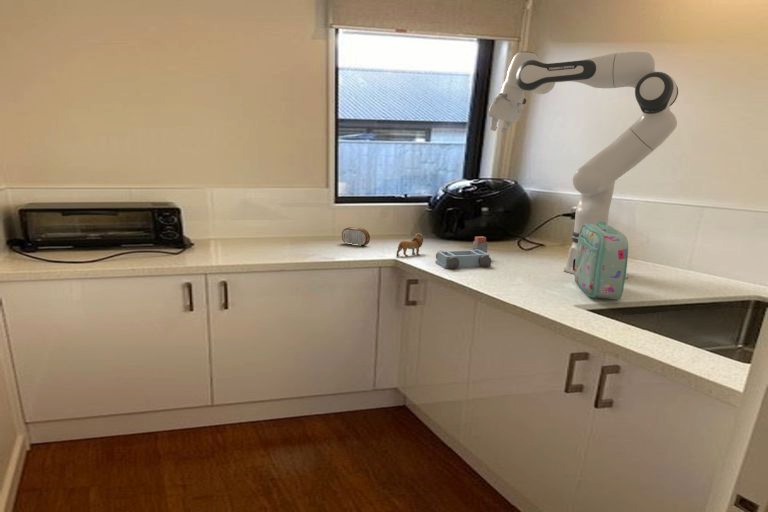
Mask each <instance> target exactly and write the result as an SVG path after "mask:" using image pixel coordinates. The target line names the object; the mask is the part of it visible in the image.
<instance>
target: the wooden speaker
mask: <svg viewBox="0 0 768 512" xmlns="http://www.w3.org/2000/svg"><path fill="white" fill-rule="evenodd" d="M341 239H342V242H343V243H345V242H347V243H352V244H358V245H365V246H367V245H369V242H370V240H371V236H370V233H369V231H368V230H367V229H365V228H361V227H353V226H348V227H346V228H343V230H342V232H341Z"/></svg>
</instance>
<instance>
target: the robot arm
mask: <svg viewBox="0 0 768 512" xmlns="http://www.w3.org/2000/svg"><path fill="white" fill-rule="evenodd" d="M655 66H656V64H655V59H654V57H653V55H652V54H651V53H649V52H647V51H624V52H623V51H622V52H616V53H608V54H604V55H600V56H599V55H598V56H595V57H590V58H586V59H580V60H573V61H561V62H553V63H546V62H545V63H544V62H542V61H541V60H540V59H539V58H538V56H537V54H536V53H534V52H531V51H530V52H529V51H525V50H524V51H519V52H517V53H516V54H514V56H513V58H512V60H511V62H510V65H509V66H508V70H507V72H506V77H505V78H506V79H505V81H504V82H503V84H502V86H501V89H500V92H499V93H498V94H497V95H496V97H494V99H493V100H492V102H491V105H490V107H489V110H488V113H487V116H488V117H490V118H491V126H490V130H491V131H493V132H496V131H497V129H498V122H499V121H501V120H502V121H505V123H504V124H505V125H504V126H503V127H502V128H501V132H502V133H505V134H507V133H508V130H509V129H510V127H511V126H512V124H513V123H514V124H517V123H518V122H519V120H520V118H521V116H522V113H523V111H524V107H525V106H526V105H527V103H528V99H527V97H526V96H525V93H526V91H528V92H532V93H534V94H537V95H545V94H548V93H549V92H551V91H553V89H554V87H555V85H556V83H566V82H567V83H568V82H573V83H574V82H575V83H579V84H584V85H587V86H589V87H592V88H595V89H617V88H618V89H619V88H627V87H628V88H634V96H635V100H636V101H637V105H638V106H639V108H640V110H641V112H642V114H641V116H640V117H639V118H638V119H637V120H636V121H635V122H634V123H633V124H632V125H630V126H629V127H628V128H627V129H626V130H625V131H624V132H623V133H622V134H620V135H619V136H618V137H617V138H616V139H614V141H612V143H610V144H609V145H607V147H604V148H603V149H602V150H601V151H599V152H598V153H596V155H594V156H593V157H592V158H590V159H589V160H587V161H586V162H585V163H584V164H583V165H581V166H580V167H579V168H578V169H576V171H575V173H574V174H573V177H572V184H573V187H574V189H575V190H576V191H578V192H579V193H580V194H579V195H580V196H579V198H578V204H577V207H576V209H575V214H574V215H575V217H574V227H573V231H572V234H571V241H572V244H571V246H570V248H569V250H568V254H567V255H568V256H567V261H566V266H565V267H564V268H563V272H566V273H569V274H573V275H574V271H573V260H574V259H575V258H576V251H577V244H578V238H579V234H580V230H581V228H582V226H583V225H584V224H597V222H598V221H599V222H606V226H609V225H608V224H609V223H608V222H609V215H610V208H611V204H612V200H613V195H614V189H615V184H616V181H617V180H618V179H619V178H621V177H622V176H623V175H625V174H626V173H628V172H629V171H630V170H632V169H633V168H635V167H636V166H637V165H638V164H640V162H642V161H643V160H644V159H646V158H647V157H648V156H649V155H650V154H652V153H653V152H654V151H655V150H656V149H658V148H659V147H660V146H661V145H662V144H663V143H664V142H665V141H666V140H667V139H668V138H669V137H670V136H671V134H672V133H673V132H674V131H675V129H676V128H677V125H678V120H677V118H676V116H675V114H674V113H673V111H671V109H670V108H671V106H672V105H673V104H674V103H675V102H676V100H677V98H678V96H679V88H678V84H677V82H676V80H675V79H674V78H673V77H672V76H670V75H669V74H668V73H665V72H662V71H656V69H655ZM628 278H629V274H627V273H626V277H625V280H626V279H628Z"/></svg>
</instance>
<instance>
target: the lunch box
mask: <svg viewBox="0 0 768 512" xmlns="http://www.w3.org/2000/svg"><path fill="white" fill-rule="evenodd" d="M628 241H629V240H628V239H627V236H626V235H625V234H623V233H622V232H621V231H619V230H618V229H616V228H614V227H613V226H610V225H607V226H606V222H599V221H598V222H597V224H584V225H583V226H582V228H581V230H580V234H579V238H578V244H577V251H576V258H575V259H574V260H573V271H574V274H573V275H574V282H575V284H576V285H577V286H578V287H579V288H580V290H581V291H583V292H584V293H585V294H586V295H587V296H588V297H590V298H594V299H595V298H597V299H599V298H600V299H611V300H618V301H619V300H620V299H621V298H622V296H623V293H624V287H625V282H626V279H625V277H626V274H627V269H628V258H629V242H628Z"/></svg>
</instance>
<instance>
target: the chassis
mask: <svg viewBox="0 0 768 512" xmlns="http://www.w3.org/2000/svg"><path fill="white" fill-rule="evenodd" d="M435 259H436V260H435V264H437V265H438V266H440V267H442V268H443V269H451V270H456V269H459V268H460V269H461V268H474V267H475V268H476V267H483V268H488V267H491V264H492V258H491V257H490V254H489V253H488V252H487V253H485V252H483V251H481V250H473V248H470V249H466V250H438V251H437V252H436V253H435Z"/></svg>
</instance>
